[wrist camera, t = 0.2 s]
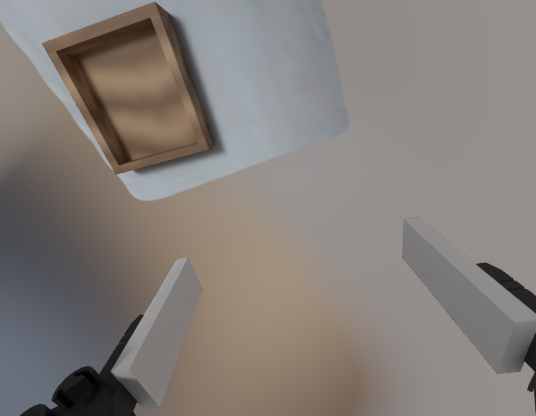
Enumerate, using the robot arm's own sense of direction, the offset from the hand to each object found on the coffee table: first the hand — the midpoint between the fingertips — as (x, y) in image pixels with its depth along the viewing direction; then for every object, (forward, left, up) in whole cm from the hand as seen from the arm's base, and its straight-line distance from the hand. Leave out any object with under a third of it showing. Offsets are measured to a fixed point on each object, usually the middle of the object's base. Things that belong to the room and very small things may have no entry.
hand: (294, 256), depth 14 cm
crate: (-13, -18, -28) cm, 36 cm away
